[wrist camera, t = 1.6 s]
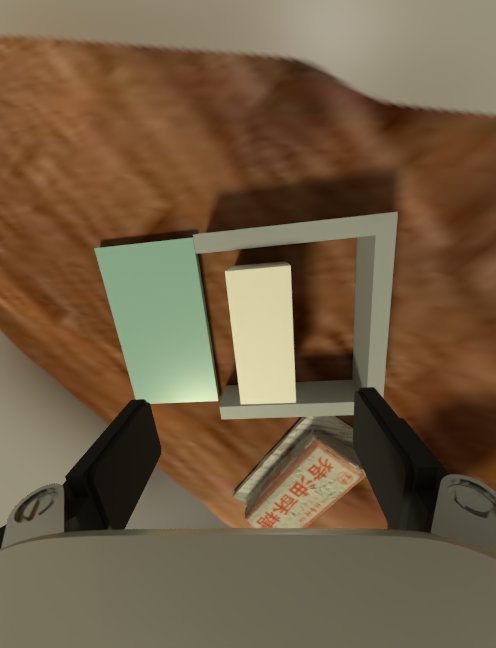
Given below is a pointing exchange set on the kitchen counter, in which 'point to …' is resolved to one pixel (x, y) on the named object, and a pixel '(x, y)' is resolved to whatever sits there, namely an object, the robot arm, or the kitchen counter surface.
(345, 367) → the kitchen counter surface
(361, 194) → the kitchen counter surface
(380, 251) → the frame
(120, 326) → the pad
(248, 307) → the carton
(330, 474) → the packaged product
